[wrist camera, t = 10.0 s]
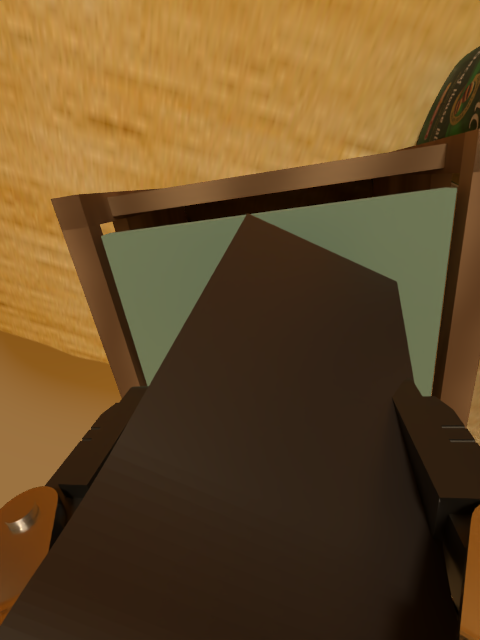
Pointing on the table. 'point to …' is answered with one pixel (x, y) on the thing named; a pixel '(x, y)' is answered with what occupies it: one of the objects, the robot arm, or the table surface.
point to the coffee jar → (456, 105)
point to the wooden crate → (386, 170)
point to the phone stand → (257, 474)
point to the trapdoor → (312, 225)
